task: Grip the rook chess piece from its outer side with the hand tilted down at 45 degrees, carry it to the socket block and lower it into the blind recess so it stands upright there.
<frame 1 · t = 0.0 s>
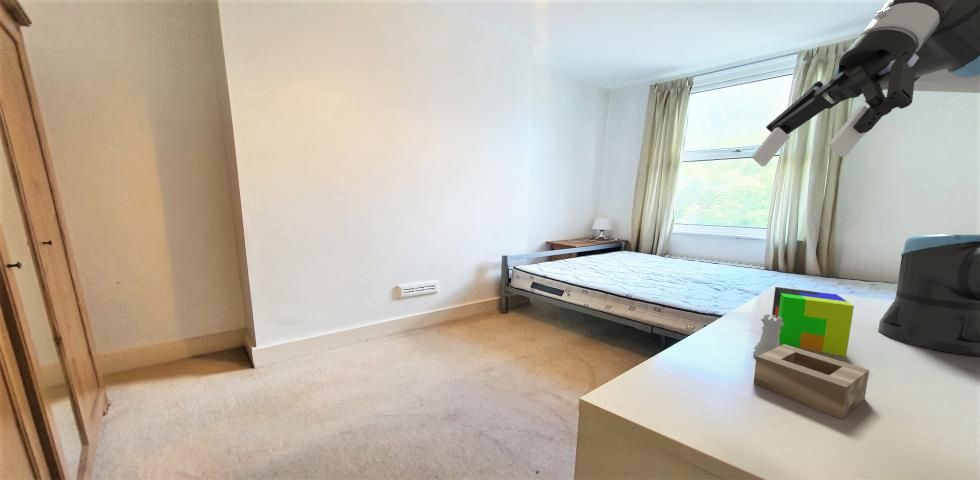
hand: (792, 156, 54), 36 cm above the table, tool tilted 35°, fingers open, 13 cm apart
socket block: (807, 390, 52), on the table
puzzle toy: (804, 342, 71), on the table
rook chess piece: (767, 359, 63), on the table
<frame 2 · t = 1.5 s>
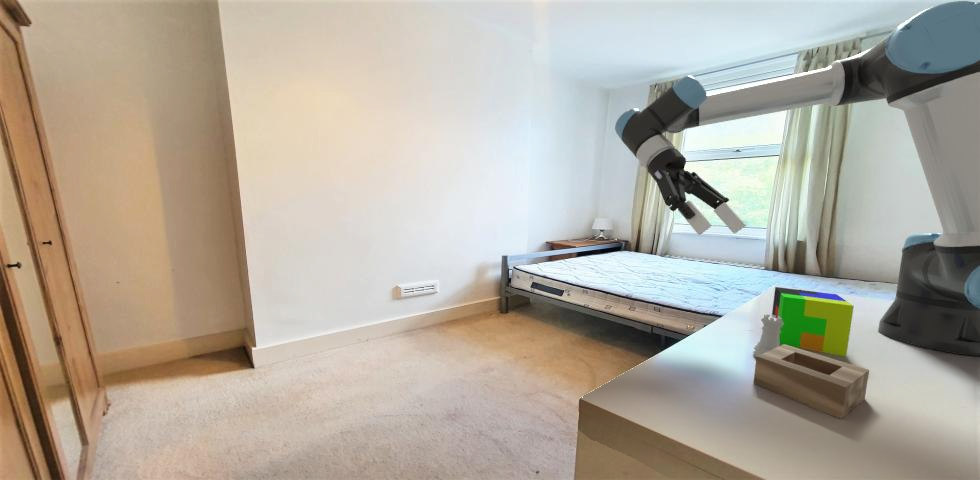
hand: (723, 229, 68), 23 cm above the table, tool tilted 45°, fingers open, 13 cm apart
nothing on the table moved.
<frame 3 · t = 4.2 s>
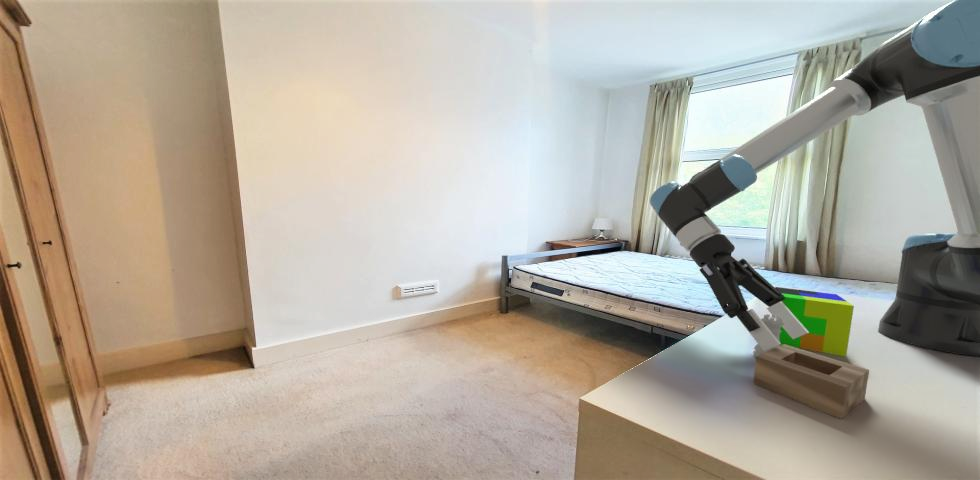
hand: (787, 341, 60), 4 cm above the table, tool tilted 45°, fingers open, 11 cm apart
nothing on the table moved.
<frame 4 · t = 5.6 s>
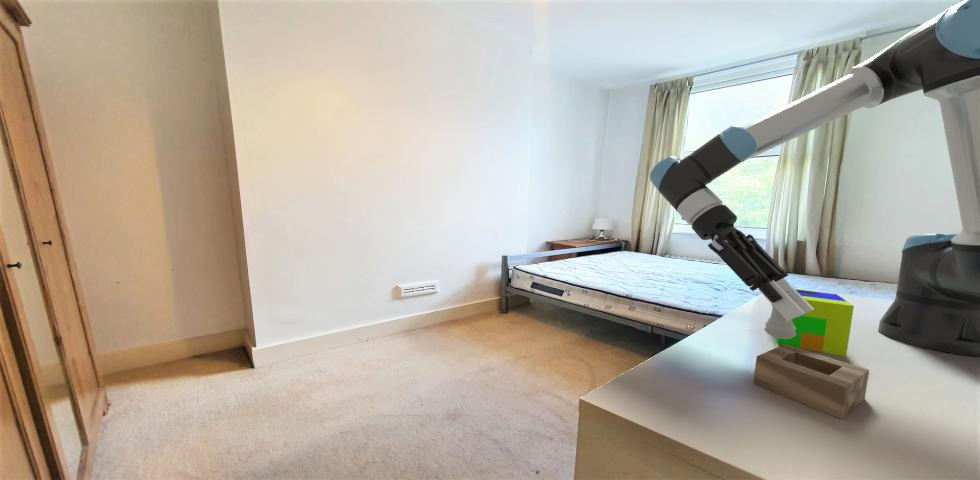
hand: (800, 314, 58), 9 cm above the table, tool tilted 45°, fingers closed on rook chess piece, 3 cm apart
rook chess piece: (779, 334, 62), point 5 cm above the table, touching gripper
everything else where it was.
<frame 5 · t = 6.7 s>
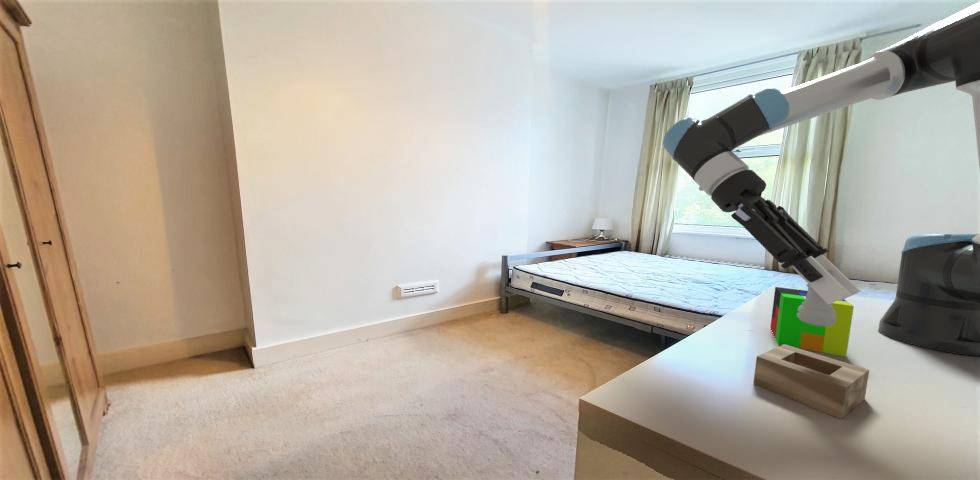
hand: (844, 297, 48), 15 cm above the table, tool tilted 45°, fingers closed on rook chess piece, 3 cm apart
rook chess piece: (815, 321, 52), point 10 cm above the table, touching gripper
everything else where it was.
when the fingers open (6 cm above the table, at t = 9.0 s): rook chess piece stays where it is, resting on socket block.
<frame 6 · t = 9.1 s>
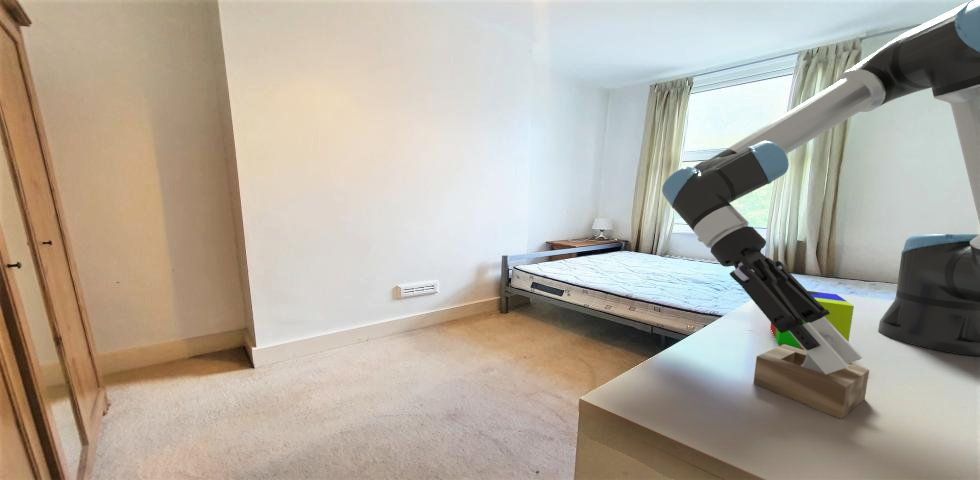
hand: (844, 365, 48), 6 cm above the table, tool tilted 45°, fingers open, 5 cm apart
rook chess piece: (813, 386, 51), point 1 cm above the table, touching gripper, socket block
everything else where it was.
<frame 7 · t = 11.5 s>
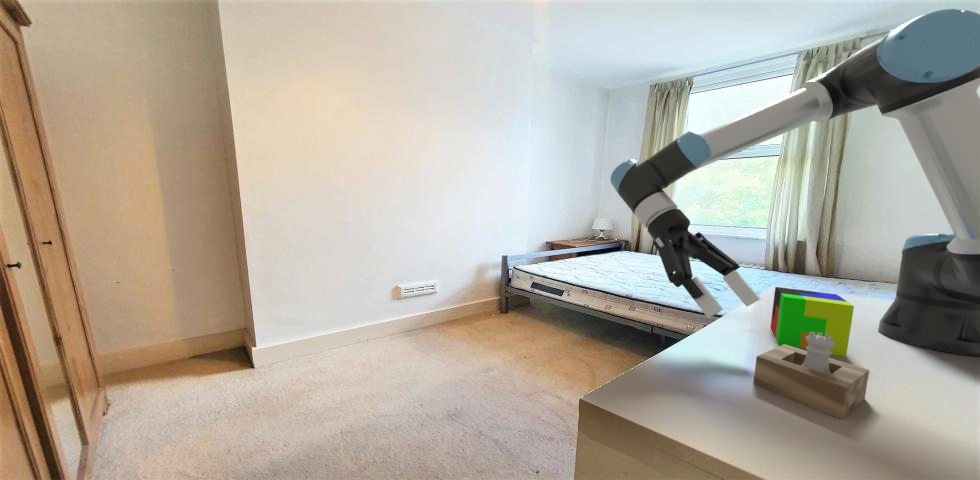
hand: (735, 308, 60), 10 cm above the table, tool tilted 45°, fingers open, 13 cm apart
rook chess piece: (813, 386, 51), point 1 cm above the table, touching socket block
everything else where it was.
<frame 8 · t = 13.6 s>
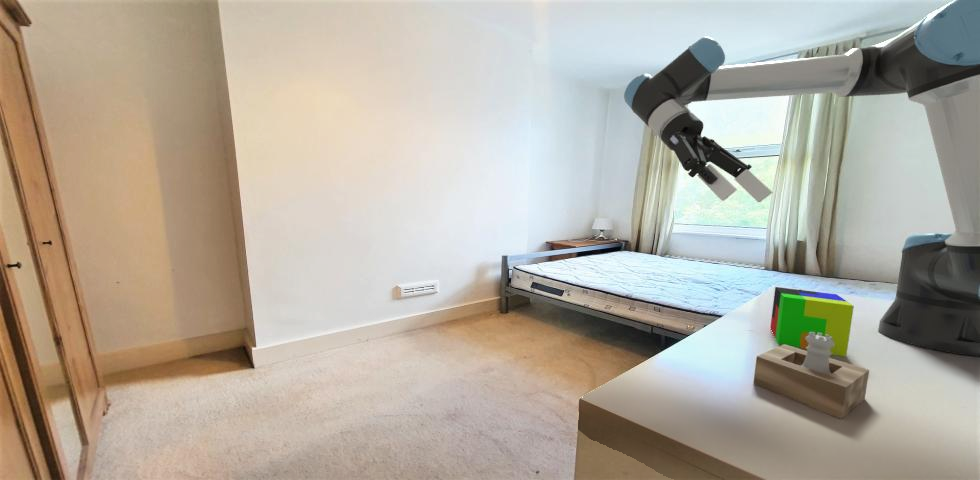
hand: (748, 196, 62), 30 cm above the table, tool tilted 45°, fingers open, 13 cm apart
nothing on the table moved.
at the end: rook chess piece 0.6 cm off-centre on the socket block, point 0.8 cm above the socket block's base; rook chess piece tilted 0°; the gripper is holding nothing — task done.
